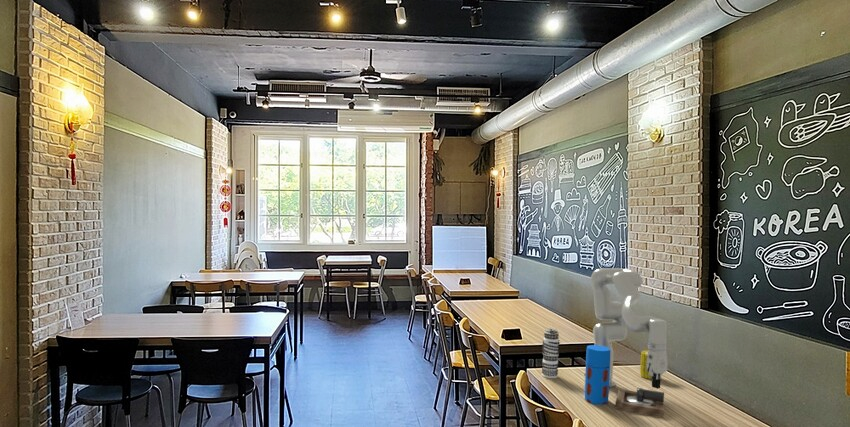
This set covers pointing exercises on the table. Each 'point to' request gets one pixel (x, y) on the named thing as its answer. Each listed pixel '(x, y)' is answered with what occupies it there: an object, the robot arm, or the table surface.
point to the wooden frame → (637, 405)
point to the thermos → (597, 374)
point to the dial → (646, 397)
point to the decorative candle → (550, 353)
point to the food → (644, 365)
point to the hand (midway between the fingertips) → (656, 387)
